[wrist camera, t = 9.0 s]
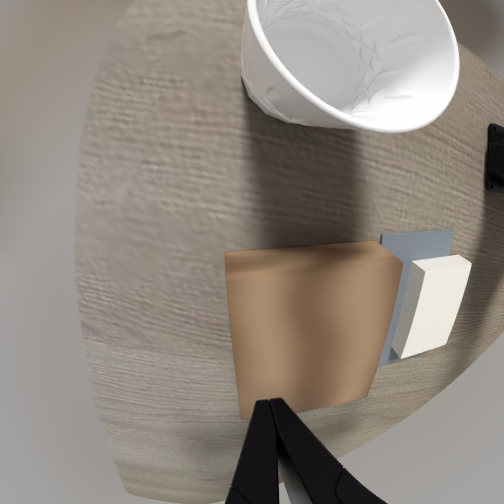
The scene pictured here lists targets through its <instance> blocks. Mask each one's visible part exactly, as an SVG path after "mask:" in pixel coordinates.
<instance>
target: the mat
mask: <svg viewBox="0 0 504 504" xmlns="http://www.w3.org/2000/svg"><path fill="white" fill-rule="evenodd" d="M453 236H454V230H453V229H449V230H433V231H417V232H401V233H385V234H381V239H380V245H382V246H383V247H384V248H385V249H387V250H388V251H389V252H391V253H392V254H393V255H395V256H396V257H397V258H398V259H400V260H401V261H402V262H404V263H403V269H402V274H401V279H400V284H399V289H398V293H397V298H396V302H395V306H394V311H393V315H392V319H391V323H390V326H389V330H388V334H387V337H386V341H385V344H384V348H383V351H382V354H381V358H380V361H379V364H378V366H382V365H386V364H389V363H393V362H396V361H400V360H403V359H407V358H410V357H413V356H416V355H419V354H420V353H418V354H415V355H412V356H409V357H406V358H402V359H400V358H399V356H398V355H397V353H396V352H395V351H394V349H393V348H392V347H391V345H392V341H393V338H394V335H395V331H396V328H397V324H398V320H399V317H400V313H401V309H402V305H403V301H404V296H405V292H406V287H407V283H408V278H409V273H410V268H411V263H412V261H416V260H424V259H431V258H438V257H445V256H450V251H451V246H452V241H453Z"/></svg>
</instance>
